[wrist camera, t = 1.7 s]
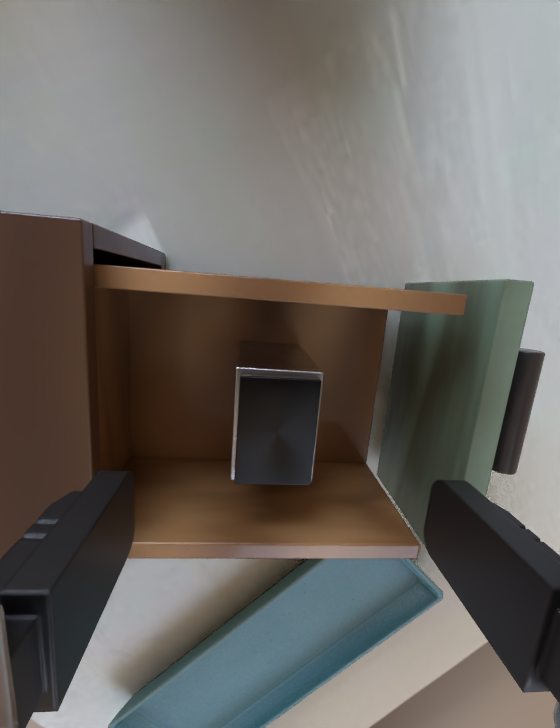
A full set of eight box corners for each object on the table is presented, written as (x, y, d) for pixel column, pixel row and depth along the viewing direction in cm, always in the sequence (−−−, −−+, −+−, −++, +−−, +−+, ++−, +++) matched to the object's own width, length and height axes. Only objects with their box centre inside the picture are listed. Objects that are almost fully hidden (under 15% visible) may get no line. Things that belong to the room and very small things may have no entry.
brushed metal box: (300, 344, 21) (327, 375, 13) (293, 421, 22) (315, 490, 14) (240, 340, 20) (235, 370, 13) (236, 419, 21) (228, 488, 14)
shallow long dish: (193, 751, 30) (188, 792, 27) (114, 697, 28) (101, 736, 25) (430, 570, 28) (447, 597, 25) (363, 498, 26) (374, 520, 23)
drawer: (496, 290, 22) (651, 291, 14) (457, 477, 25) (566, 575, 16) (121, 259, 20) (22, 235, 11) (124, 468, 23) (48, 577, 14)
